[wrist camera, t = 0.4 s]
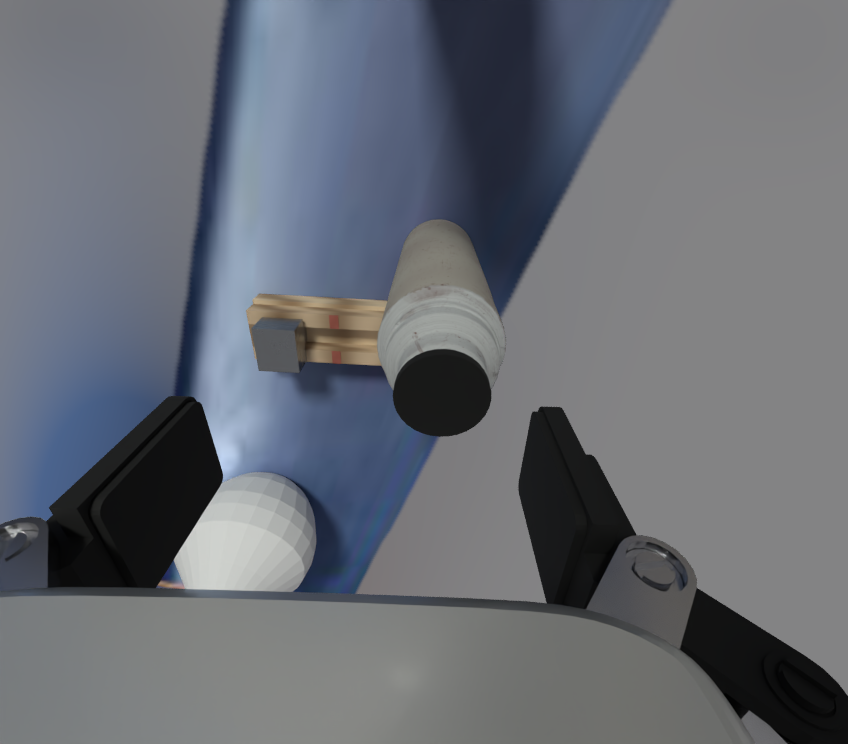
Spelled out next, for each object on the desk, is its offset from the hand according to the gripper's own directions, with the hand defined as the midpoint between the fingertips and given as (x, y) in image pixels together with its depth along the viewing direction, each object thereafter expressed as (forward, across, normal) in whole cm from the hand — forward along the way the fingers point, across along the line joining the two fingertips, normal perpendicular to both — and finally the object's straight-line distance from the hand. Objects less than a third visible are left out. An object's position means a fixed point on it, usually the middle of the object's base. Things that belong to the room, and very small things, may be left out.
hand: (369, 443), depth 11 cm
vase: (+36, +22, +41) cm, 59 cm away
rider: (+33, +14, +11) cm, 38 cm away
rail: (+36, +9, +11) cm, 38 cm away
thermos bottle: (+36, -2, +3) cm, 36 cm away
